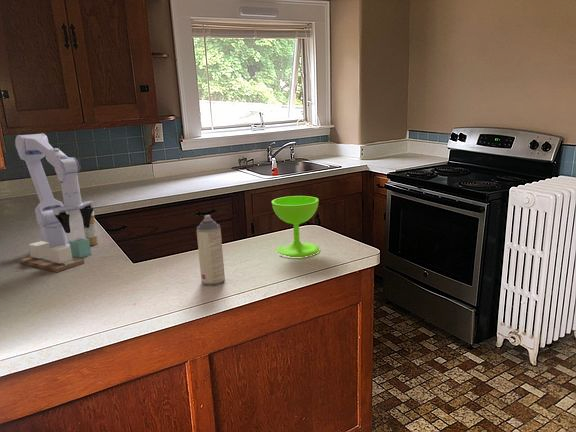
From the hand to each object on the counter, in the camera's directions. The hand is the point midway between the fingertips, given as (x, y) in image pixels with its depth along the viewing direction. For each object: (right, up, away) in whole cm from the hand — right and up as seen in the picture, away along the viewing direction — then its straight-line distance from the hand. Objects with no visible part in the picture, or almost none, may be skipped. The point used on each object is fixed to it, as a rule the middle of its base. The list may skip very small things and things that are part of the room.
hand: (77, 230), depth 167 cm
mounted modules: (-7, -9, -5) cm, 13 cm away
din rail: (-7, -10, -5) cm, 13 cm away
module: (0, -9, +2) cm, 10 cm away
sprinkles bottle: (-1, -6, +16) cm, 17 cm away
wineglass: (+79, -7, -5) cm, 79 cm away
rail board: (-7, -11, -5) cm, 14 cm away
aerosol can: (+54, -14, -29) cm, 63 cm away
